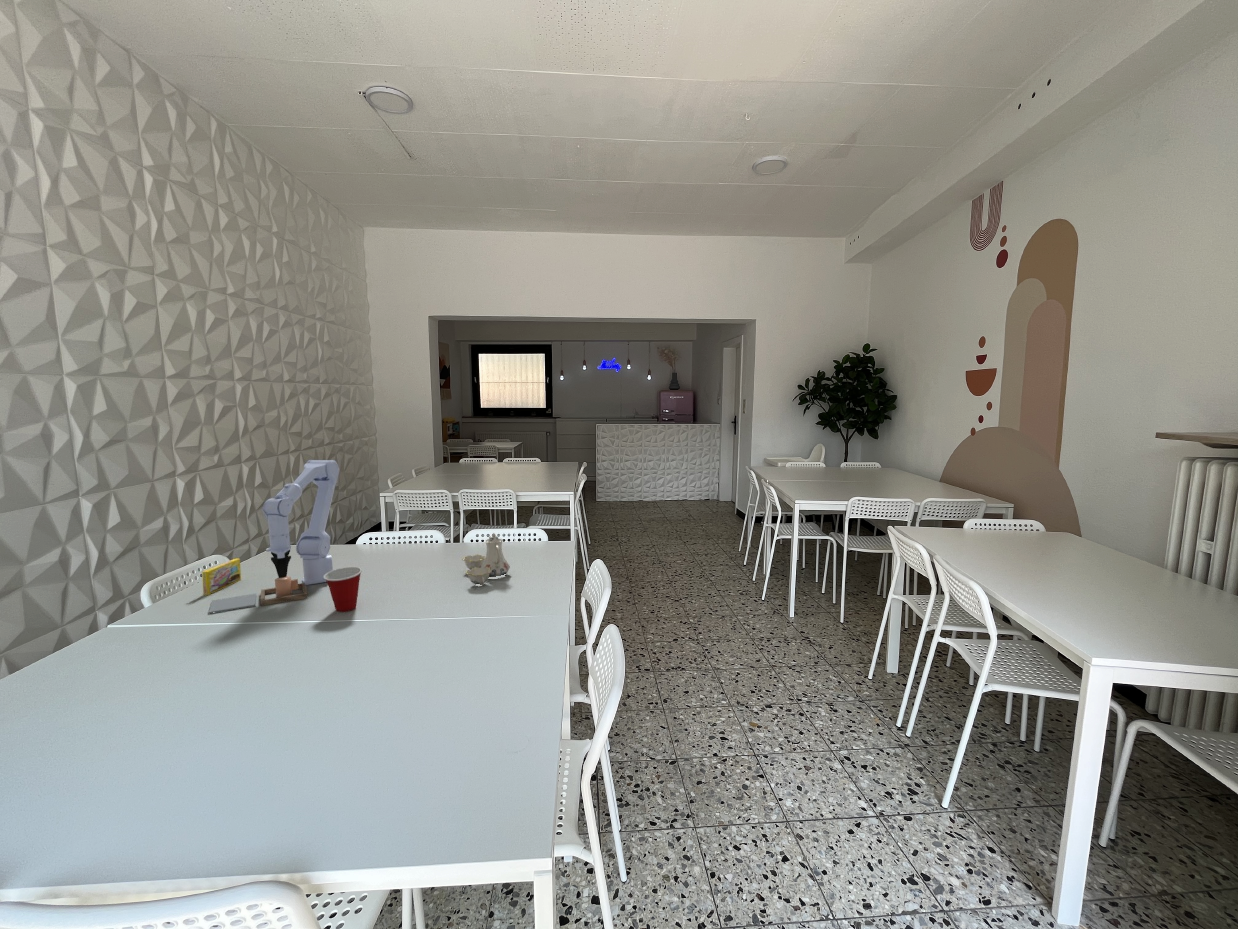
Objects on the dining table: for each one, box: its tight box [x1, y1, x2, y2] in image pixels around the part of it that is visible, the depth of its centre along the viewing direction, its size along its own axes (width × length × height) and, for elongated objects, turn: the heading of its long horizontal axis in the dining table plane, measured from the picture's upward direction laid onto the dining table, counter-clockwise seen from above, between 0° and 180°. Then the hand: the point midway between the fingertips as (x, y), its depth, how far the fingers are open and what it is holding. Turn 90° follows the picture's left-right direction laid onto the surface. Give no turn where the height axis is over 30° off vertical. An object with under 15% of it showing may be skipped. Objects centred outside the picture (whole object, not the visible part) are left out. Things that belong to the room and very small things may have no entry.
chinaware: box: [461, 532, 511, 587], centre depth 206 cm, size 28×17×17 cm, turn 25°
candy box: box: [201, 558, 242, 596], centre depth 196 cm, size 16×2×8 cm, turn 179°
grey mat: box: [208, 593, 257, 614], centre depth 180 cm, size 12×12×1 cm
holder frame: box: [260, 582, 308, 606], centre depth 188 cm, size 13×13×2 cm
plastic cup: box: [324, 566, 363, 613], centre depth 175 cm, size 11×11×12 cm
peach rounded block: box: [274, 576, 299, 598], centre depth 188 cm, size 6×5×6 cm
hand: (282, 574), depth 187 cm, fingers open, 7 cm apart
